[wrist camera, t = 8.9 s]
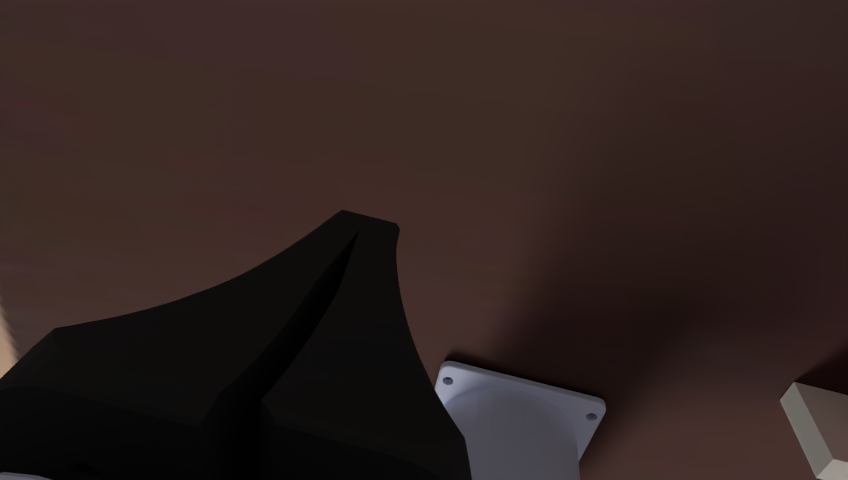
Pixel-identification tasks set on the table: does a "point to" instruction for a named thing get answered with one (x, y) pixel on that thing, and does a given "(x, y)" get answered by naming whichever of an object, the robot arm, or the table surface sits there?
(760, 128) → the table surface
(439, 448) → the robot arm
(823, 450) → the box
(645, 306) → the table surface
